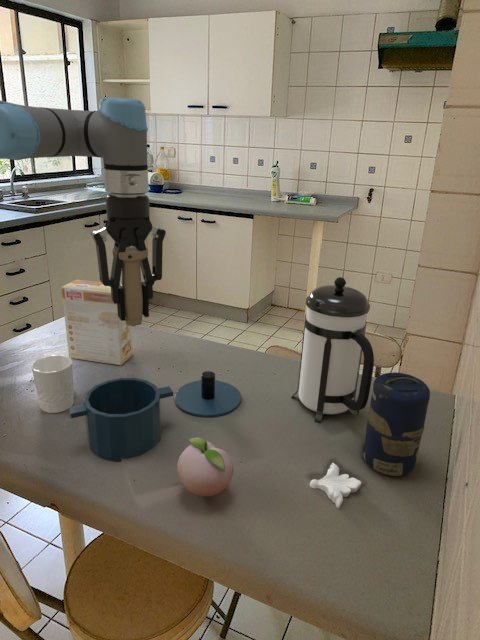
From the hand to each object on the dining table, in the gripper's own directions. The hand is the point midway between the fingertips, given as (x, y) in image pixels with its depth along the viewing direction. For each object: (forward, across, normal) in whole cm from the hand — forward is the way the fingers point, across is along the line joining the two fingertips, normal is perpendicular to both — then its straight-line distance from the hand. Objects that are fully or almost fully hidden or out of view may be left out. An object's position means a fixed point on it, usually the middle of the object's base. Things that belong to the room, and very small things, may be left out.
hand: (133, 316), depth 91 cm
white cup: (+22, -15, +9) cm, 28 cm away
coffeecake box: (+22, -1, +28) cm, 36 cm away
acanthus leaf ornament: (+22, +23, -37) cm, 49 cm away
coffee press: (+22, +38, -17) cm, 47 cm away
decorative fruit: (+22, +3, -29) cm, 36 cm away
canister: (+22, +36, -36) cm, 56 cm away
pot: (+22, -5, -9) cm, 24 cm away
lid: (+21, +15, -3) cm, 26 cm away
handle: (+2, 0, 0) cm, 2 cm away
